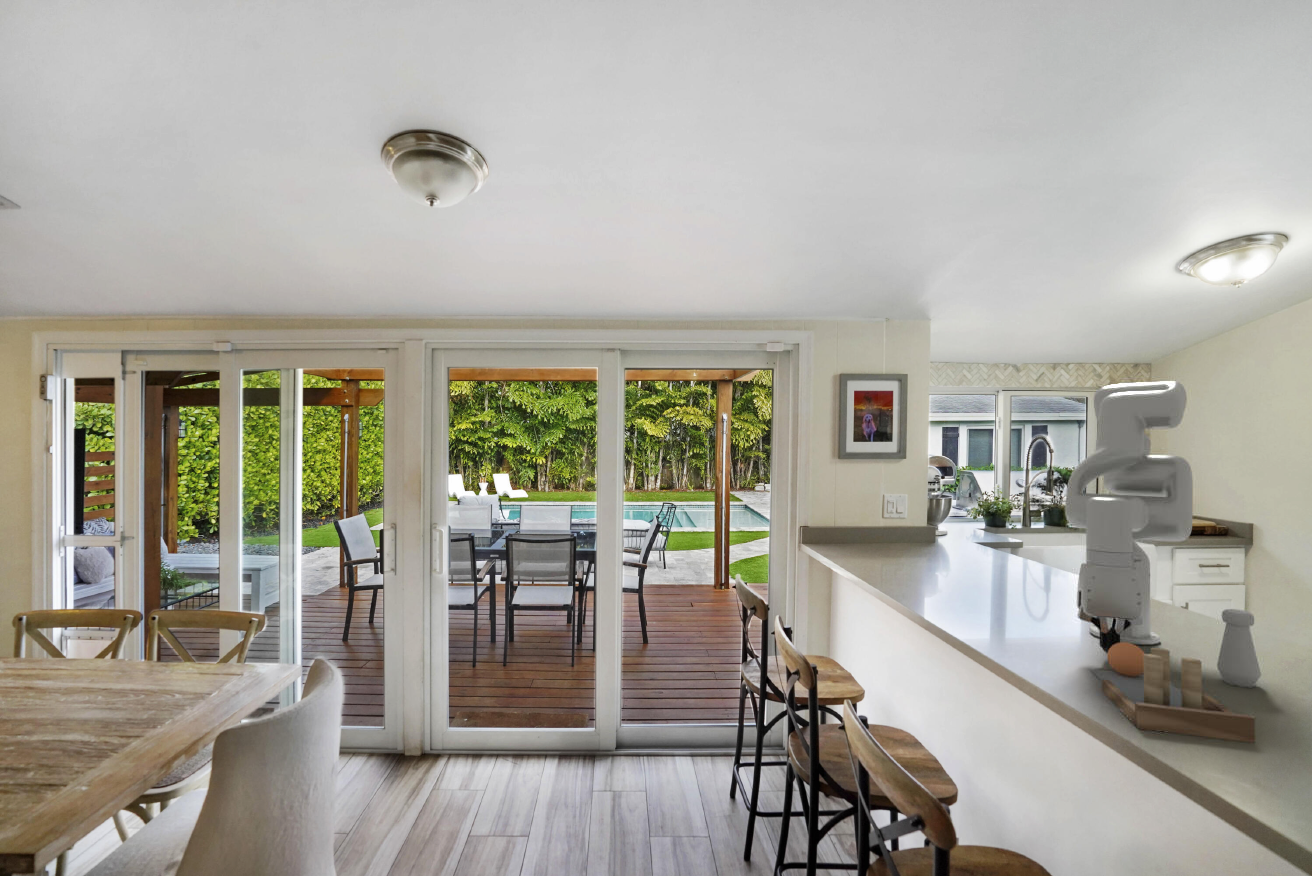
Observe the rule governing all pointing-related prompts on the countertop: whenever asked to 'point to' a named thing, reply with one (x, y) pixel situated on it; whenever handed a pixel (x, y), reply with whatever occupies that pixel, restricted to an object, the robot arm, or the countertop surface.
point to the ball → (1126, 659)
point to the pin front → (1164, 673)
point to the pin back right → (1153, 679)
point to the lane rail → (1185, 717)
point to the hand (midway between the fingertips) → (1109, 651)
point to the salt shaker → (1238, 650)
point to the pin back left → (1191, 683)
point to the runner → (1135, 686)
